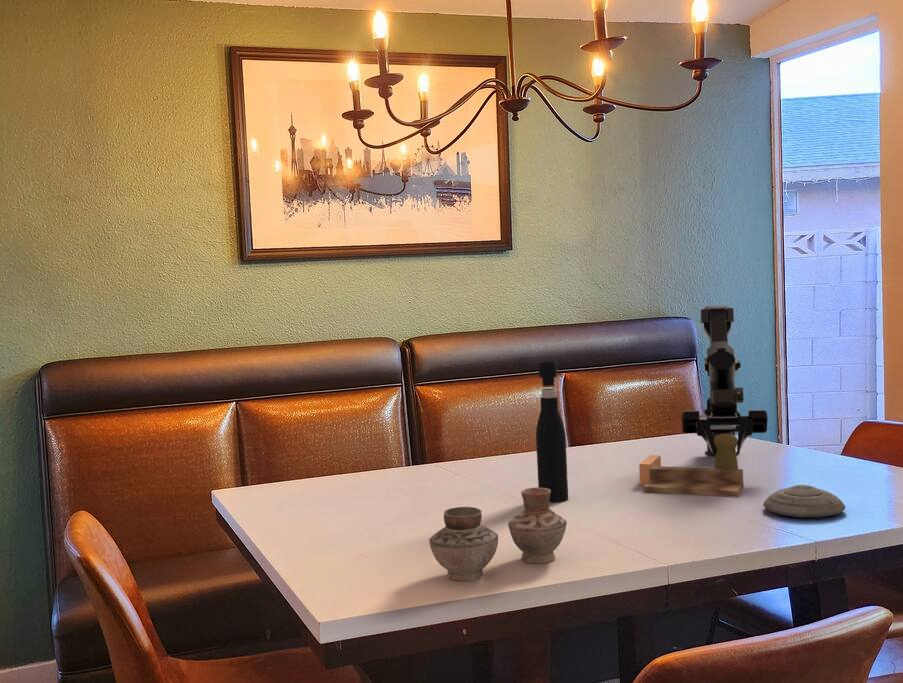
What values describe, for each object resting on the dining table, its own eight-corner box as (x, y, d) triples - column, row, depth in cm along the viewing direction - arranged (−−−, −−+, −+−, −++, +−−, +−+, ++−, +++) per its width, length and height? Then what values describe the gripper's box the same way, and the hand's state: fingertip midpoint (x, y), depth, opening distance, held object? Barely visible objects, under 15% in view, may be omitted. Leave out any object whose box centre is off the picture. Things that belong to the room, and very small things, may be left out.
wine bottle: (533, 498, 200) (527, 362, 198) (559, 494, 202) (553, 360, 200) (547, 504, 194) (541, 364, 192) (573, 500, 196) (567, 361, 194)
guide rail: (748, 479, 207) (747, 457, 207) (738, 496, 192) (737, 473, 191) (650, 475, 216) (649, 454, 216) (633, 491, 201) (632, 469, 201)
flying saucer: (784, 500, 188) (783, 474, 188) (858, 510, 177) (857, 482, 177) (749, 515, 177) (748, 487, 177) (825, 526, 167) (824, 497, 166)
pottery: (581, 561, 153) (578, 491, 152) (452, 592, 141) (448, 516, 140) (542, 546, 163) (539, 480, 162) (419, 574, 151) (415, 503, 150)
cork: (707, 481, 207) (705, 433, 206) (727, 477, 209) (726, 430, 209) (725, 486, 201) (723, 437, 201) (746, 482, 204) (745, 434, 203)
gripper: (680, 376, 210) (681, 431, 200) (765, 374, 205) (771, 431, 195) (682, 405, 218) (683, 459, 208) (764, 403, 213) (769, 459, 203)
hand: (725, 452), depth 204 cm, fingers closed on cork, 5 cm apart
